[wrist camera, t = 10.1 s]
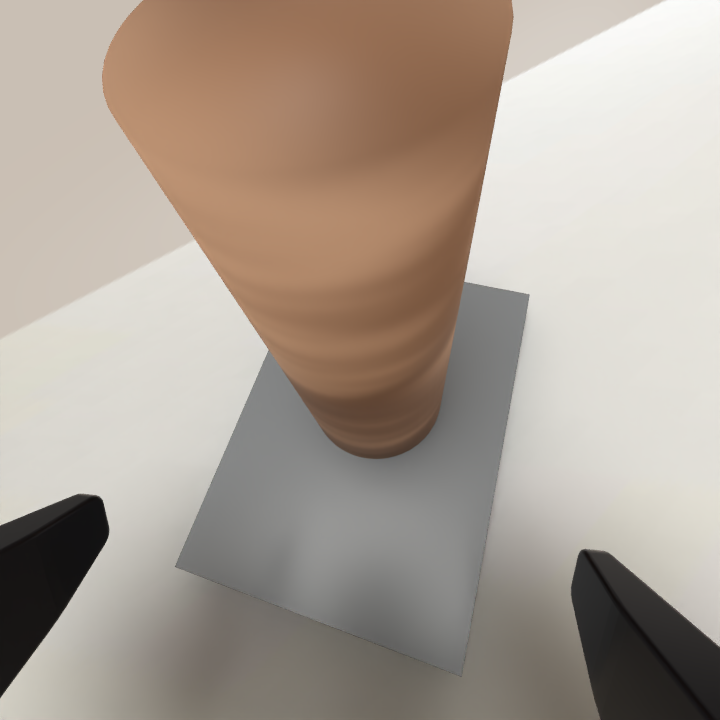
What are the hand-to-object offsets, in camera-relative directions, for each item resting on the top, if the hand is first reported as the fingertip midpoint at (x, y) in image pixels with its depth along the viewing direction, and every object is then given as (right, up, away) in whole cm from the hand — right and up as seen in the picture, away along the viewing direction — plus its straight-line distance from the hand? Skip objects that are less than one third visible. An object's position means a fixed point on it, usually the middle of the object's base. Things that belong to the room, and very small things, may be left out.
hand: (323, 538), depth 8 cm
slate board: (+1, 0, +10) cm, 10 cm away
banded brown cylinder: (+1, +2, +9) cm, 9 cm away
